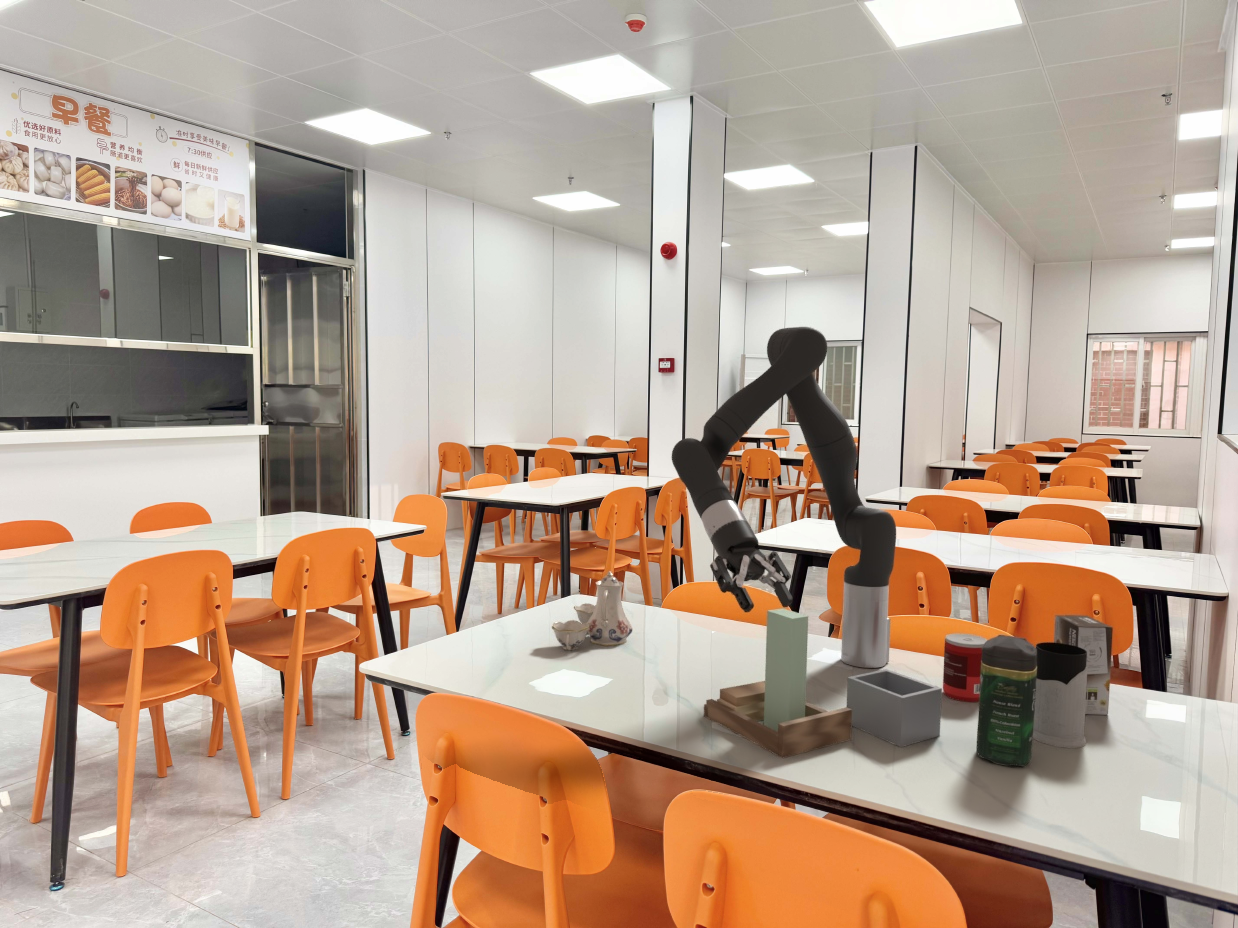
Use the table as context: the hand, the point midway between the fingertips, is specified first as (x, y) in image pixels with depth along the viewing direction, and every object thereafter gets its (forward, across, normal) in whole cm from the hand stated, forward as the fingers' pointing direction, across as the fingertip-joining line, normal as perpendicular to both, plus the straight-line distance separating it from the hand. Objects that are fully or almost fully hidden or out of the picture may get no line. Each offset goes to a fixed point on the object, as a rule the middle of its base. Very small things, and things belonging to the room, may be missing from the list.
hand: (769, 607), depth 139 cm
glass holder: (+32, +38, -4) cm, 50 cm away
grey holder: (+23, +17, +6) cm, 29 cm away
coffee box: (+29, +57, -1) cm, 64 cm away
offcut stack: (+11, 0, +17) cm, 20 cm away
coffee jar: (+34, +24, -6) cm, 42 cm away
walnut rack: (+16, 0, +13) cm, 20 cm away
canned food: (+19, +43, +9) cm, 48 cm away
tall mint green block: (+17, 0, +11) cm, 21 cm away
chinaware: (-27, 0, +56) cm, 62 cm away
